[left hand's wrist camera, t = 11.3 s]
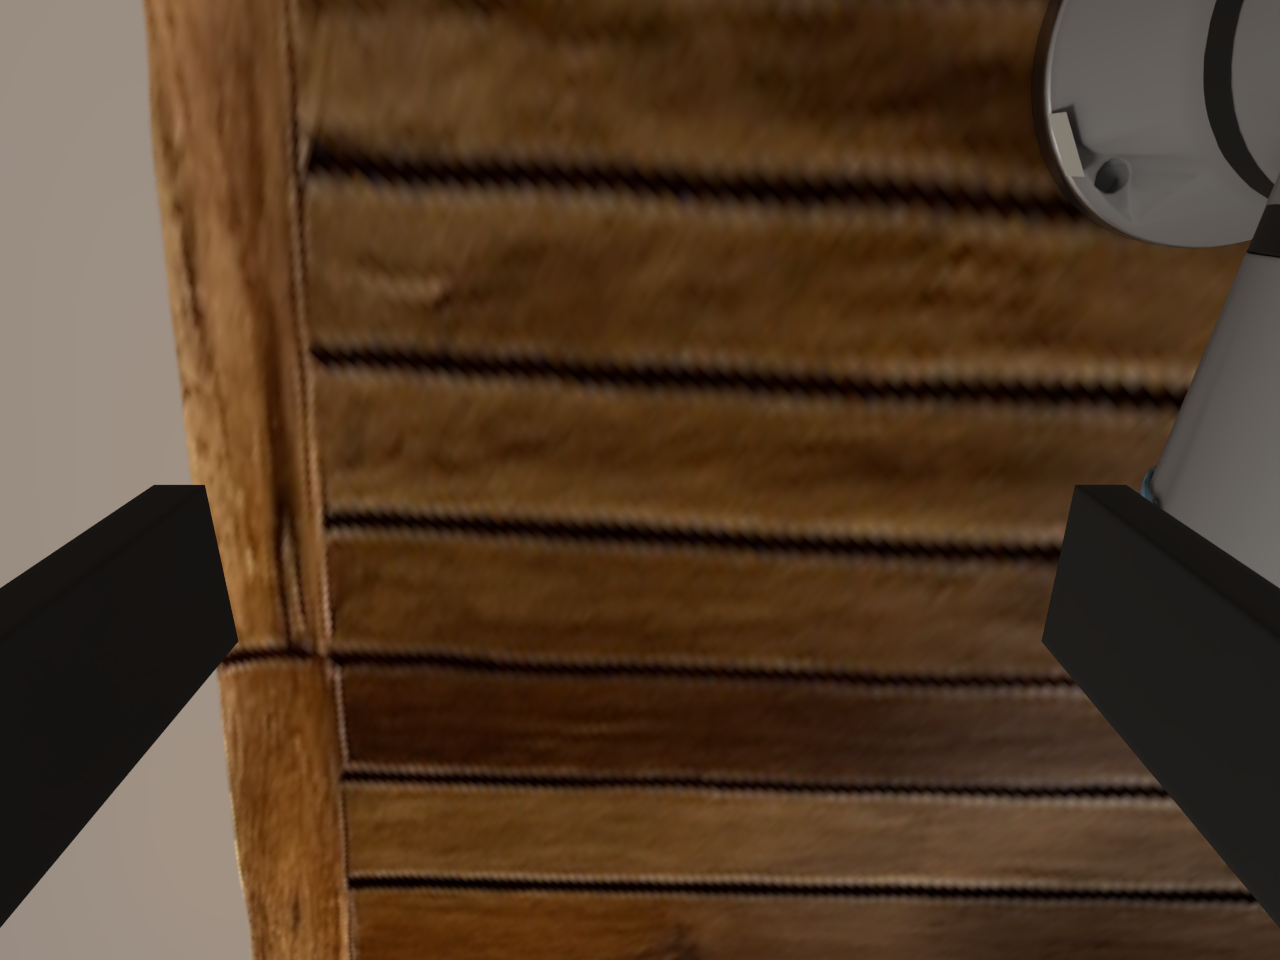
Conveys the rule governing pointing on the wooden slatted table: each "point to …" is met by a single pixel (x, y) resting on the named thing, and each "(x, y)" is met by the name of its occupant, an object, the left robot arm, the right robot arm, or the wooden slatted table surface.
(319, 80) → the wooden slatted table surface
